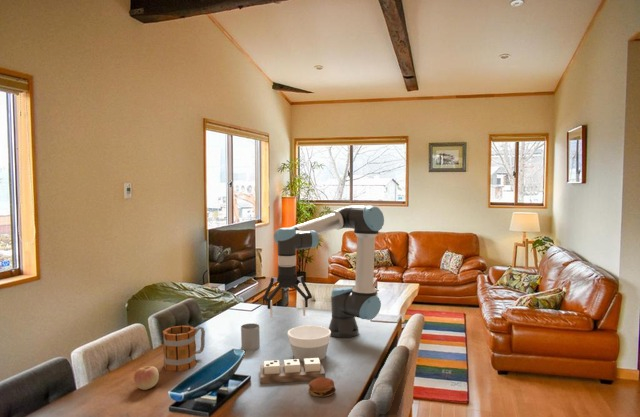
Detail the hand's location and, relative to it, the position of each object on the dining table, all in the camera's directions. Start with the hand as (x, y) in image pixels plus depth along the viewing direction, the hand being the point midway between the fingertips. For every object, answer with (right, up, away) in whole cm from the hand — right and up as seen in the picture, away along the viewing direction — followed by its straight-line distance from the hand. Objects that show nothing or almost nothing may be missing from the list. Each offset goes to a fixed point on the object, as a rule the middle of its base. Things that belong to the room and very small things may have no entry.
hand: (287, 315), depth 201 cm
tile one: (+10, -20, -8) cm, 24 cm away
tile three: (-6, -20, -10) cm, 23 cm away
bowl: (+9, -20, +12) cm, 25 cm away
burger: (+14, -23, -25) cm, 37 cm away
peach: (-52, -23, -19) cm, 60 cm away
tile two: (+2, -20, -9) cm, 22 cm away
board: (+2, -22, -9) cm, 24 cm away
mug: (-44, -22, +5) cm, 49 cm away
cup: (-19, -20, +23) cm, 36 cm away
